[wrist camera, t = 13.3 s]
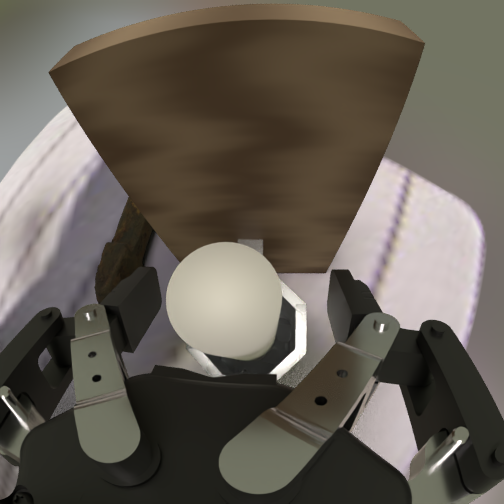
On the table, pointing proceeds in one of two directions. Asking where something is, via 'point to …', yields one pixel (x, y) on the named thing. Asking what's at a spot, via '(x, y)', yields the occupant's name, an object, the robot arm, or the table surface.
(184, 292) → the cream white cylinder
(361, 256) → the table surface
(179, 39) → the wooden bookend
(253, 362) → the metal cup
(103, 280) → the hand tool
